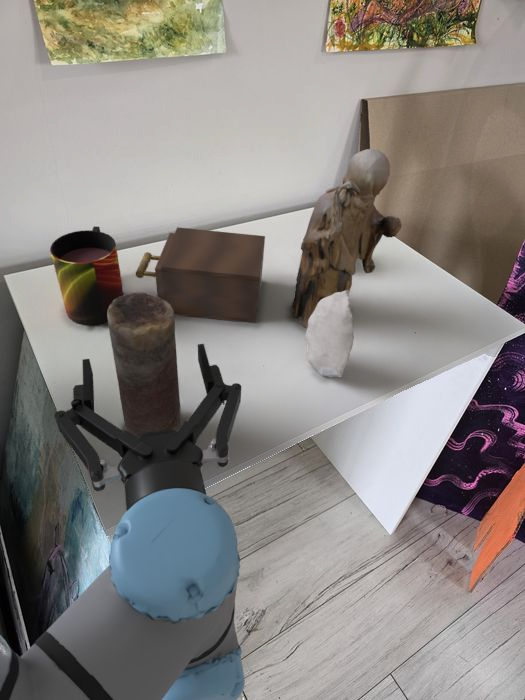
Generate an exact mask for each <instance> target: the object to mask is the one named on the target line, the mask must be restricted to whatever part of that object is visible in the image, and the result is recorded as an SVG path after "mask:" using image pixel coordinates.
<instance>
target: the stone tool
mask: <svg viewBox="0 0 525 700" xmlns="http://www.w3.org/2000/svg"><path fill="white" fill-rule="evenodd" d="M350 307H351V297H350V291H348V290H346V291H343V292H336V293H334V294H332V295H330V296H328V297H326V298H323V299H322V300H320V301H319V302H318V304H317V306H316V308H315V310H314V312H313V314H312V315H311V317H310V318H309V320H308V328H306V332H305V335H304V337H305V341H306V348H307V350H306V358H307V361H308V363H309V364H310V365H311V366H312V367H313V368H314V369H315V370H316V372H318V374H319V375H320V376H321V377H329V378H335V377H338V378H339V377H342V376H343V374H344V371H345V369H346V368H347V365H348V363H349V361H350V355H351V351H352V347H353V345H354V339H355V336H354V320H353V318H354V316H353V313H352V309H351V308H350Z"/></svg>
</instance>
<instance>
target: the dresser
mask: <svg viewBox="0 0 525 700" xmlns="http://www.w3.org/2000/svg"><path fill="white" fill-rule="evenodd" d="M174 233H175V234H174V236H173V239H172V241H171V244H170V246H169V249H168V251H167V254H166V256H165V259H164V261H163V264H162V266H161V272H162V284H163V296H164V300H165V301H167V302H168V303H169V304H170V305H171V307H172V308H173V311H174V316H180V317H181V316H182V317H191V318H200V319H201V318H202V319H210V320H211V319H212V320H222V321H231V322H240V323H250V324H256V323H257V317H258V311H259V310H258V309H259V302H260V296H261V295H260V294H261V288H262V287H261V286H262V281H263V280H262V279H263V269H264V267H263V265H264V256H265V255H264V254H265V244H266V243H265V241H266V235H257V234H250V233H249V234H248V233H238V232H227V231H218V230H206V229H197V228H188V227H179V226H177V227H176V229H175V231H174Z"/></svg>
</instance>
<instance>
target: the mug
mask: <svg viewBox="0 0 525 700" xmlns="http://www.w3.org/2000/svg"><path fill="white" fill-rule="evenodd" d="M49 251H50V255H51V259H52V262H53V267H54V270H55V273H56V278H57V281H58V282H57V283H58V286H59V289H60V293H61V296H62V297H61V298H62V302H63V304H64V308H65V312H66V316H67V317H68V319H69V320H71V322H73V323H75V324H78V325H81V326H88V327H96V326H103V325H106V324H107V325H108V318H107V310H108V308H109V306H110V304H111V303H112V302H113V300H114V299H116V298H118V297H120V296H123V295H125V294H124V289H123V287H124V286H123V283H122V281H123V280H122V276H121V270H120V269H121V267H120V263H119V256H118V255H119V254H118V250H117V243H116V240H115V239H114V238H113V236H111V235H110V234H107V233H105V232H102V231H101V228H100V226H95V225H94V226H93V227H92V229H91V230H88V229H87V230H86V229H85V230H77V231H72V232H68V233H66V234H63V235H61V236H59V237H58V238H56V239H55V240H54V241H52V243H51V245H50V249H49Z"/></svg>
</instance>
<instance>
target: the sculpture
mask: <svg viewBox="0 0 525 700" xmlns="http://www.w3.org/2000/svg"><path fill="white" fill-rule="evenodd" d="M390 165H391V164H390V161H389V159H388V156H387V155H386V154H385V153H384V152H383V151H381V150H379V149H374V148H368V149H367V148H366V149H363V150H361V151H359V152H357V153H355V154H354V155H353V156H352V157H351V158H350V161H349V163H348V165H347V169H346V172H345V173H344V174H343V176H342V184H340V185H336V186H334V187H331V188H327V190H325V192H324V193H323V194H321V195H320V196H319V197H318V198H317V200H316V203H315V205H314V207H313V210H312V213H311V215H310V218H309V221H308V224H307V228H306V232H305V234H304V237H303V239H302V242H301V245H300V250H301V256H300V262H299V266H298V272H297V274H296V279H295V288H294V294H293V295H294V296H293V300H292V304H291V309H292V312H291V313H292V314H291V315H292V316H293V317H294V318H298V317H299V318H300V322H299V323H300V325H301V326H302V327H304V328H306V329H307V328H308V320H309V318H310V317H311V315H312V314H313V312H314V310H315V308H316V306H317V304H318V302H319V301H320V300H322V299H323V298H326V297H328V296H330V295H332V294H334V293H336V292H343V291H346V290H348V291H349V292H351V288H352V285H353V275H355V274H356V272H357V260H358V259H359V260H361V264H362V265H361V266H362V269H363V271H364V273H365V274H372V273H373V272H374V271H375V269H376V265H375V262H374V260H373V255H374V251H375V249H376V248H377V246H378V244H379V243H380V241H381V239H382V237H383V236H384V237H386V238H394V237H396V236H397V234H398V233H399V232H400V230H401V229H402V226H403V224H402V221H401V219H400V217H395V216H392V215H387V216H385V215H383V214H382V213H381V212H380V211H379V210H378V209H377V207H376V205H375V204H374V203H375V200H376V197H377V196H378V195H380V193H381V191H383V189H384V188H385V187H386V185H387V183H388V180H389V179H390V178H389V177H390V175H391V166H390Z"/></svg>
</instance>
